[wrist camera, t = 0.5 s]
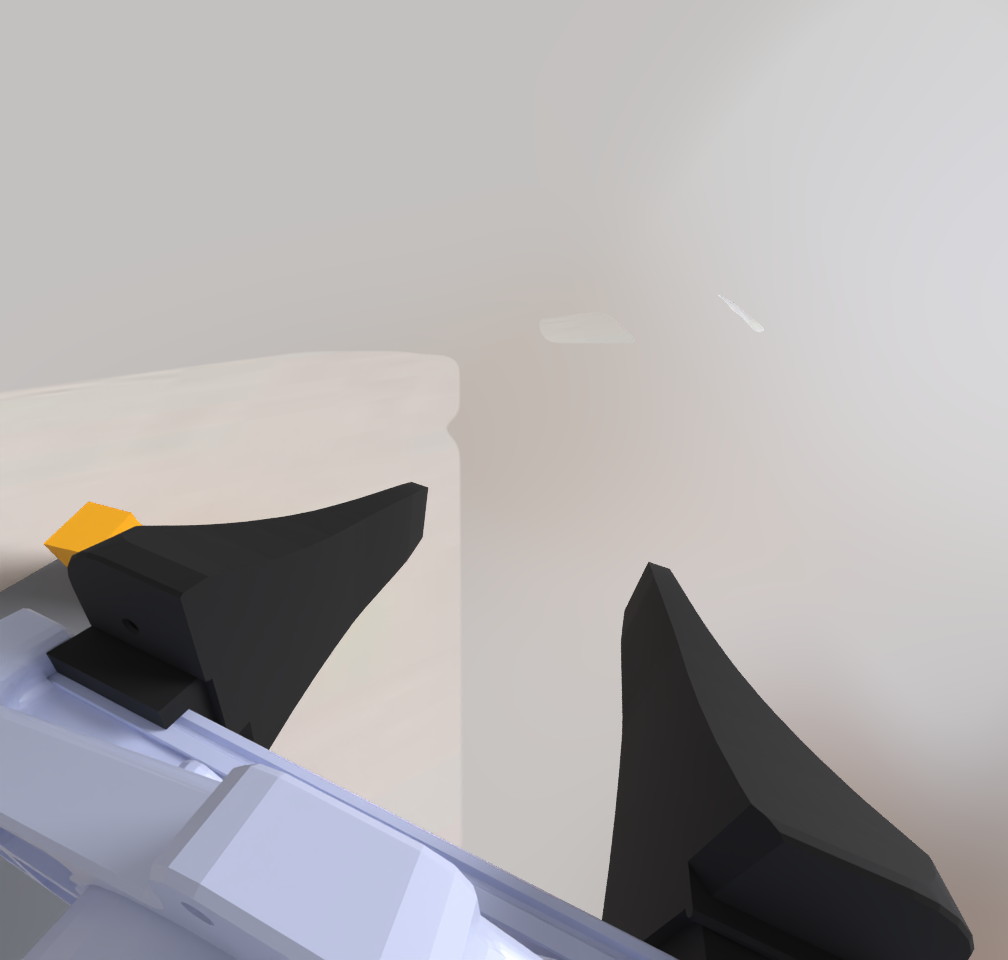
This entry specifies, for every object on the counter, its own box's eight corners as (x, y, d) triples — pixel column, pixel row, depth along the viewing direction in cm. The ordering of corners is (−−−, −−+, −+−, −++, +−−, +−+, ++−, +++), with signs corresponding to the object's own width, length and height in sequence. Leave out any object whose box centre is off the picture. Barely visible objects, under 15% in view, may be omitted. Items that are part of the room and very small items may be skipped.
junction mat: (21, 1004, 15) (18, 1007, 14) (-282, 756, 15) (-288, 756, 15) (282, 702, 23) (281, 702, 23) (80, 549, 23) (78, 547, 23)
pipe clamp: (329, 580, 28) (337, 539, 24) (304, 639, 25) (306, 605, 21) (147, 534, 25) (114, 476, 21) (94, 594, 22) (43, 543, 18)
